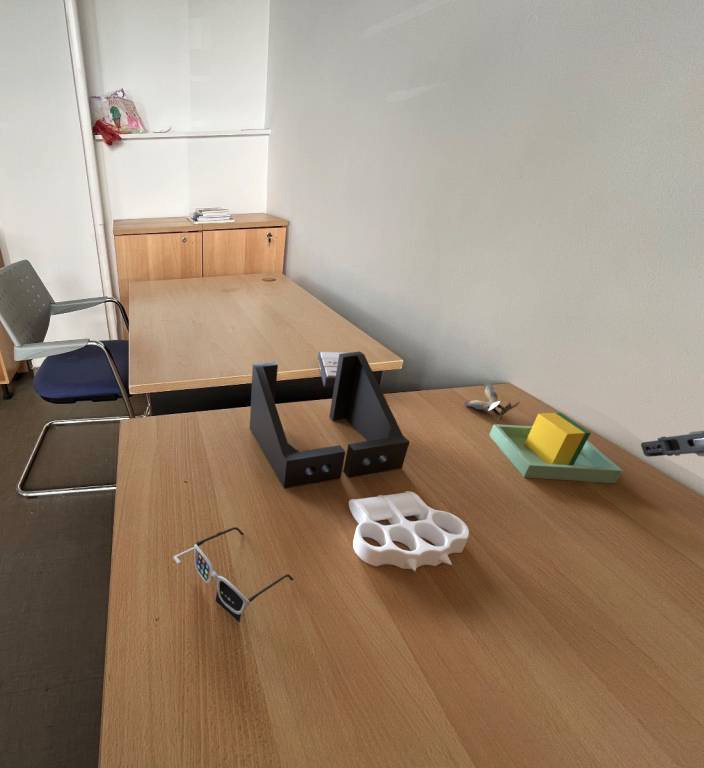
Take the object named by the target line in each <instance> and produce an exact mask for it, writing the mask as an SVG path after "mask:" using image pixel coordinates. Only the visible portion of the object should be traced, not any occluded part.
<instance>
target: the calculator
mask: <svg viewBox="0 0 704 768" xmlns="http://www.w3.org/2000/svg"><path fill="white" fill-rule="evenodd" d="M342 353H343V352H337V351H335V352H333V351H320V352H319V351H318V356H317V360H319V363H320V366H321V373H320V377H321V380H322V384H323V387H324V388H333V389H334V384H335V378H336V372H337V365H338V359H339V354H342Z"/></svg>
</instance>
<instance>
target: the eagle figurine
mask: <svg viewBox="0 0 704 768" xmlns="http://www.w3.org/2000/svg"><path fill="white" fill-rule="evenodd" d="M483 388H484V389H483V390H484V394H485V397H486V399H488V400H487V401H483V400H479V399H475V400H471V401H470V400H468V401H465V402H464V406H466V407H472V408H475V409H476V410H481V411H482V410H485V409H488V410H487V412H489V411H492V412H493V413H494V414H495V415H497V421H500V420H501V419H502V417H504V416H505V415H506V414H507V413H508V412H509V411H511V410H512V409H514V408H515V407H517V406H518V405H519V404H520V403H521V402H520V401H518V402H516V403H514V404H512V403H511V402H510V401H509V402H508V403H507V404H506V405H505V406H503V405H502V404H501V401H500V400H498V399H499V397H498V394H497V392H496V391H495V390H494V388H493V383H492V382H491V381H486V382H485V383H484V384H483ZM497 408H498V409H501V411H500V412H499V411H498V409H497Z"/></svg>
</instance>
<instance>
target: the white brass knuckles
mask: <svg viewBox="0 0 704 768" xmlns="http://www.w3.org/2000/svg"><path fill="white" fill-rule="evenodd" d="M348 508H349V511H350V513H351V514H352V517H353V518H354V520H355V521H356V522H357V524H358V525H357V526H356V529H355V533H354V537H353V540H352V548H353V551H354V553H355V554H356V556H357V557H359V559H360V560H361V561H362V562H364V563H366V564H368V565H370V566H372V567H379V566H383V565H391V566H395V567H397V568H399V569H403V570H412V571H414V572H416V570H417V569H418V568H419V567H421V566H432V567H436V566H438V565H440V564H442V563H443V564H447V565H448V566H453V564H452V561H451V559H450V557H449V555H450V554H451V555H452V554H461V553H462V552H463V551H464V549H465V546H466V544H467V543H468V539H469V537H470V530H469V527H468V526H467V524H466V523H465V522H464V521H463V520H462V519H461V518H460V517H459V516H456V515H454V514H453V513H450V512H448V511H444V510H436V509H435V508H432V507H430V506H429V505H427V504H426V503H425V502H424V500H422V498H421V497H420V496H419V495H418V494H417V493H416V492H414V491H409V490H407V491H404V492H400V493H392V494H386V495H383V494H378V495H377V496H371V497H363V498H357V499H356V498H351V499H349V500H348ZM411 516H413V517H415V518H416V521H415V520H413V521H412V520H408V519H407V518H406V517H411ZM385 520H386V521H387V522H388V523H389V524H388V525H384V524H381V523H379V521H385ZM364 538H369V539H372V540H374V541H376V542H377V543H378V544H379V545H380V546H375V545H372V544H370V543H368V542H367V541H366V540H364ZM424 539H425V540H427V541H429V542H431V543H432V544H433V545H432V544H430V543H428V542H427V541H425V540H424ZM394 542H399V543H401V544H403V545H405V546H406V547H407V548H408V549H409V550H405V549H403V548H400V547H399V546H397V545H396V544H395V543H394Z"/></svg>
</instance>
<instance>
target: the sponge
mask: <svg viewBox="0 0 704 768" xmlns="http://www.w3.org/2000/svg"><path fill="white" fill-rule="evenodd" d="M532 426H533V427H532V429H531V431H530V433H529V436H528V438H527V440H526V442H525V444H524V446H525V447H527V448H528V449H529V450H530V451H532V452H533V453H534V454H535V455H536V456H538V457H539V458H540V459H541V460H542V461H544V462H545V463H546V464H557V465H574V463H575V461H576V459H577V458H578V456H579V454H580V452H581V450H582V448H583V447H584V445H585V443H586V441H587V440H588V439H589V437H590V435H591V432H590V431H589V430H587V429H585V428H584V427H583V426H581V425H580V424H578V423H577V422H575V421H573V420H572V419H571V418H569V417H567V416H566V415H564V414H563V413H561V412H542V413H541V412H540V413H538V414H537V416H536V418H535V420H534V422H533V425H532Z"/></svg>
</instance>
